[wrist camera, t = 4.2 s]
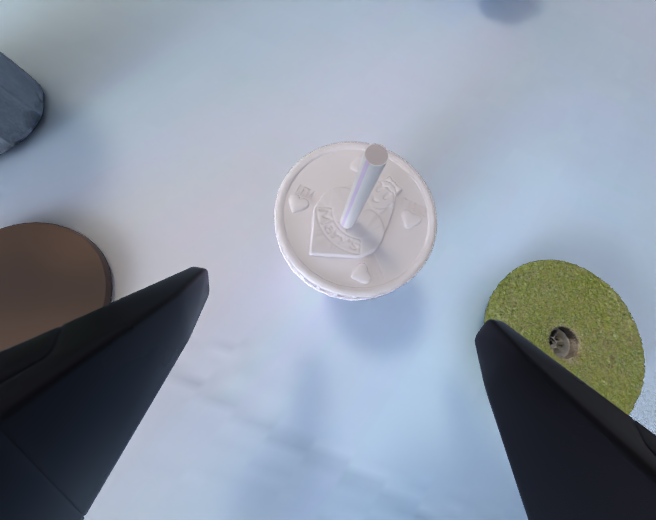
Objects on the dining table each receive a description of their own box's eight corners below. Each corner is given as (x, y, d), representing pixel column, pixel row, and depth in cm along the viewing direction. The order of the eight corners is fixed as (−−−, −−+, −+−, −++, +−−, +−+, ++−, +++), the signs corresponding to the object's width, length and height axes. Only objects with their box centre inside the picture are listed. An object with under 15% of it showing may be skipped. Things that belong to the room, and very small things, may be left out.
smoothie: (269, 259, 19) (185, 118, 6) (336, 205, 21) (396, -14, 7) (329, 328, 19) (392, 353, 5) (394, 268, 20) (584, 161, 6)
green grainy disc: (541, 463, 18) (569, 481, 16) (435, 322, 19) (449, 322, 18) (643, 358, 20) (678, 362, 18) (540, 237, 22) (563, 229, 20)
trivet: (131, 337, 18) (125, 338, 17) (-43, 412, 16) (-56, 415, 15) (89, 204, 19) (82, 200, 19) (-74, 259, 18) (-86, 257, 17)
